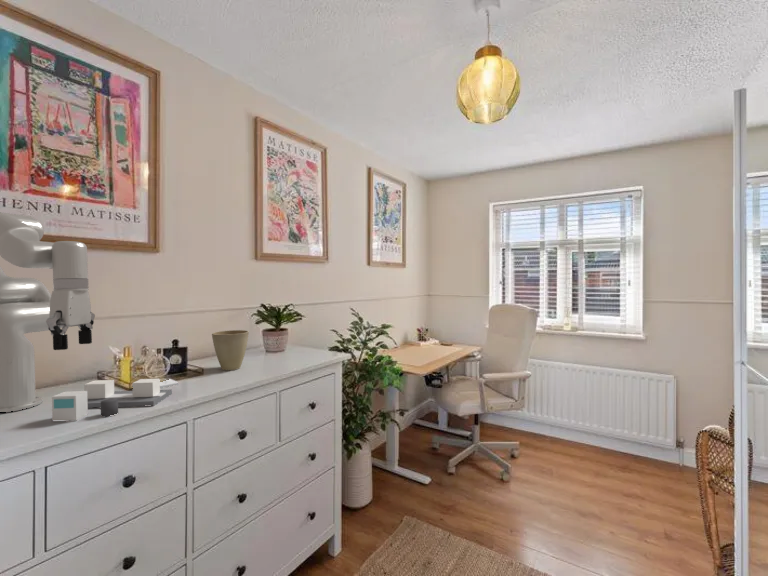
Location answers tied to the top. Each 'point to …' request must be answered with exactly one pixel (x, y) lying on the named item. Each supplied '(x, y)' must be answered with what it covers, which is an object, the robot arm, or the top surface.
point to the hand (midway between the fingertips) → (73, 346)
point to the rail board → (126, 393)
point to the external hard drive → (168, 383)
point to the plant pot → (230, 348)
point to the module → (69, 405)
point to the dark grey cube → (109, 407)
